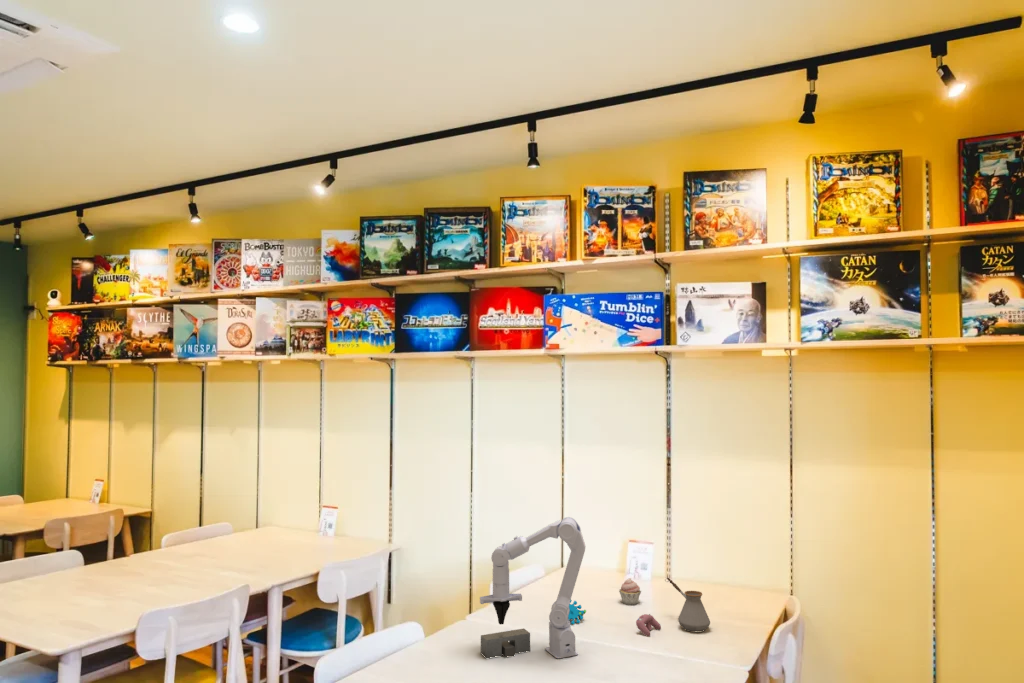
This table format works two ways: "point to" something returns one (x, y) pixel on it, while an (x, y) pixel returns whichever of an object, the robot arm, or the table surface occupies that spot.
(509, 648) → the grey rectangular bar
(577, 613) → the spiky virus model
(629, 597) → the cupcake
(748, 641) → the table surface
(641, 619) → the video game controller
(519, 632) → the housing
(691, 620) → the coffee pot
